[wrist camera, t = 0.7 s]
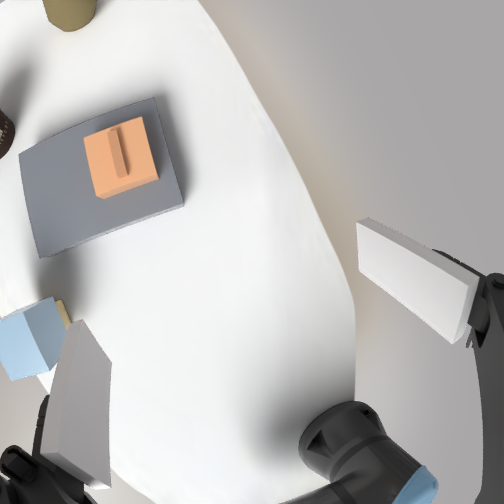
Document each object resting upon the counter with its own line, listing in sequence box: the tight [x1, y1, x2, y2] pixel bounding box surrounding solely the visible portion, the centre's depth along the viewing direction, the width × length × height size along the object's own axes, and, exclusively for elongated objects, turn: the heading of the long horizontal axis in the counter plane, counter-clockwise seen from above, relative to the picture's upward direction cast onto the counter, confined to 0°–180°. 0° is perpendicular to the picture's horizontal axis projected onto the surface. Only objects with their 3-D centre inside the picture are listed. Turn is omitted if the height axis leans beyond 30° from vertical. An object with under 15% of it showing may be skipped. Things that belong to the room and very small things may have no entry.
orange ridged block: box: [84, 116, 159, 199], centre depth 26 cm, size 6×6×4 cm
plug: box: [0, 296, 71, 381], centre depth 25 cm, size 6×6×12 cm
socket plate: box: [19, 98, 184, 258], centre depth 29 cm, size 18×13×4 cm
